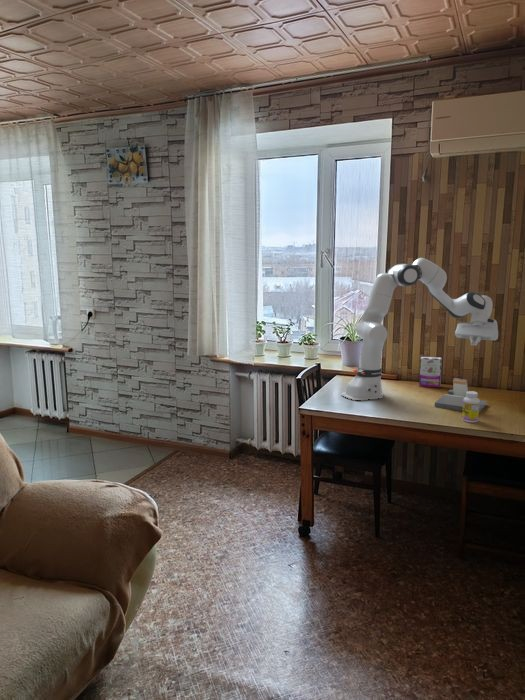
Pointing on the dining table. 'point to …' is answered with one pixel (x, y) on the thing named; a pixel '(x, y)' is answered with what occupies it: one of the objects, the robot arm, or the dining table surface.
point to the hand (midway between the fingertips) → (473, 344)
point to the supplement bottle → (470, 407)
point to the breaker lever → (460, 387)
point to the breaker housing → (454, 402)
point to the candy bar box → (430, 371)
